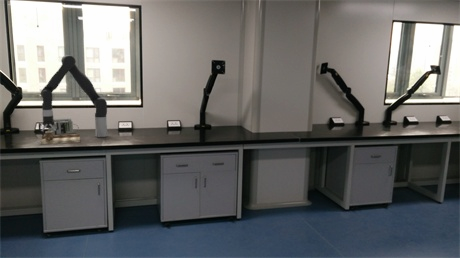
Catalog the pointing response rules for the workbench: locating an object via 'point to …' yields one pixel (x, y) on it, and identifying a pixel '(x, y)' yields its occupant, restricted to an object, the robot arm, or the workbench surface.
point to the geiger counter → (63, 126)
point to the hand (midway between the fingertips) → (49, 135)
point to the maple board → (62, 139)
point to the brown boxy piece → (49, 135)
